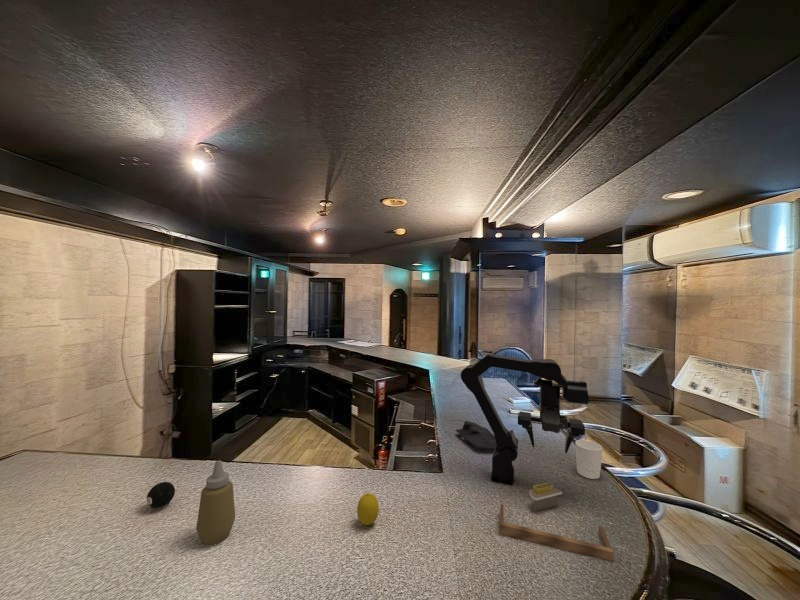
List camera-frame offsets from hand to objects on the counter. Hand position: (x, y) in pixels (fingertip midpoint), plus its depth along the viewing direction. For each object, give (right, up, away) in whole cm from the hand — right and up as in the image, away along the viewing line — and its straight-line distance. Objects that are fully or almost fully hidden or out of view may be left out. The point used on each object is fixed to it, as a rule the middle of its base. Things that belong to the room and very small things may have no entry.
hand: (549, 449), depth 97 cm
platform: (-6, -13, -9) cm, 17 cm away
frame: (-10, -12, -20) cm, 25 cm away
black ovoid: (-113, -10, -12) cm, 114 cm away
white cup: (+18, -13, +9) cm, 24 cm away
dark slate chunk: (-13, -13, +35) cm, 39 cm away
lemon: (-55, -11, -18) cm, 59 cm away
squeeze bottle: (-91, -10, -23) cm, 95 cm away
